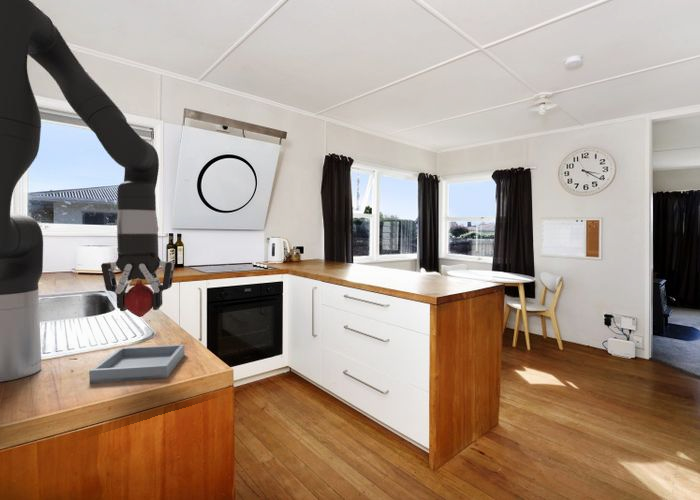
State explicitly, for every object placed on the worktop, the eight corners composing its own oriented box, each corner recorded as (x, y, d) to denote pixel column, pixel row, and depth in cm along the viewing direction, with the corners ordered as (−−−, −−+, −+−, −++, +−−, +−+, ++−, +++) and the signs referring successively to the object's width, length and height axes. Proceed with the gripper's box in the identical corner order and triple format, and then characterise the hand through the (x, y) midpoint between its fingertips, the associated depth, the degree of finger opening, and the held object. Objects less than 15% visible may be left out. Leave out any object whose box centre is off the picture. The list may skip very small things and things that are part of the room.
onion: (160, 316, 78) (158, 280, 78) (130, 321, 74) (129, 282, 74) (149, 312, 82) (148, 277, 82) (121, 317, 78) (119, 280, 78)
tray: (89, 383, 71) (89, 370, 70) (120, 358, 84) (120, 347, 84) (166, 377, 73) (166, 365, 73) (184, 354, 87) (184, 344, 87)
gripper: (91, 232, 72) (94, 315, 73) (168, 232, 75) (171, 312, 76) (108, 232, 80) (111, 307, 80) (178, 231, 82) (180, 305, 83)
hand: (140, 309), depth 78 cm, fingers closed on onion, 6 cm apart
